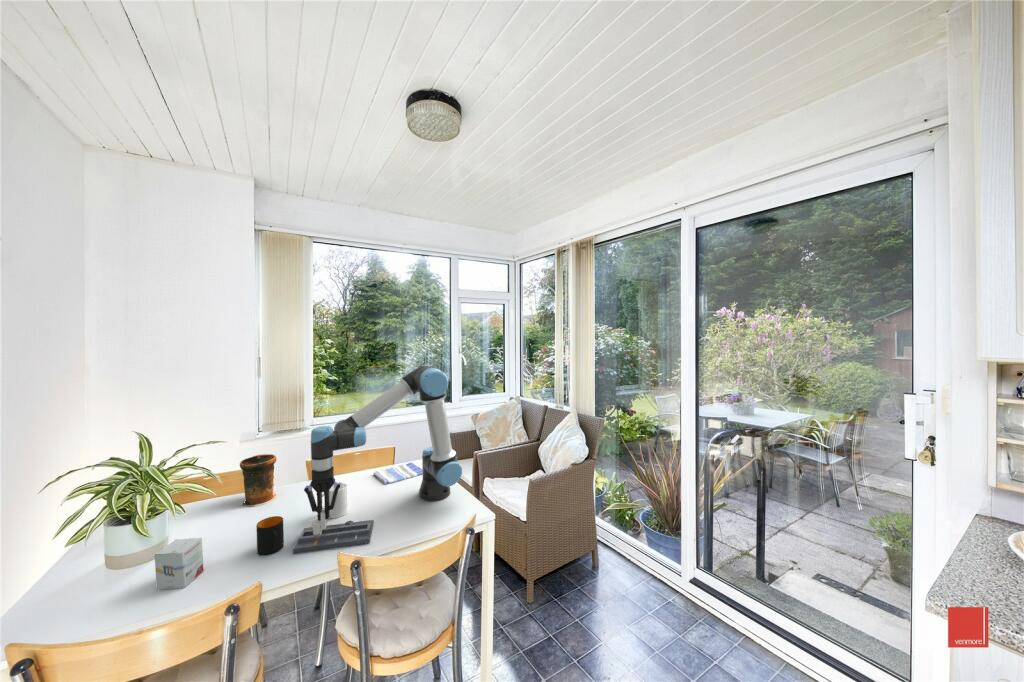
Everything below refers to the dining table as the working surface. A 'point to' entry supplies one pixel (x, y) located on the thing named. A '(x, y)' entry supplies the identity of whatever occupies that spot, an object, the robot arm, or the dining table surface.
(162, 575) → the ink box
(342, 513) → the mug
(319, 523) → the fader
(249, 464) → the vessel
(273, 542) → the mug
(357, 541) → the console
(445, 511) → the dining table surface
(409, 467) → the dish towel
